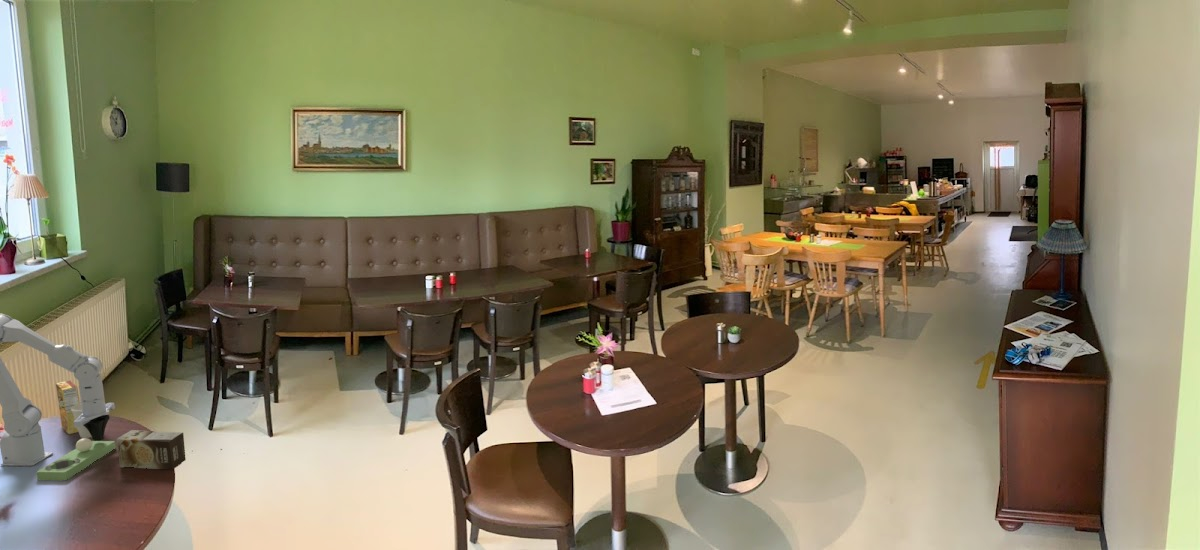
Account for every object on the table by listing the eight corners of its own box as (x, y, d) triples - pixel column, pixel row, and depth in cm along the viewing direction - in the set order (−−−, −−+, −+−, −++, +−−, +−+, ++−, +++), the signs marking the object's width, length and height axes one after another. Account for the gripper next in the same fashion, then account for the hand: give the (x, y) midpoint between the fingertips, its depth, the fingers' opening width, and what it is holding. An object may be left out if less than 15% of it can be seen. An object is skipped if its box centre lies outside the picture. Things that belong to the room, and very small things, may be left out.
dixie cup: (70, 441, 216) (65, 411, 214) (81, 430, 224) (77, 401, 222) (100, 438, 218) (96, 408, 216) (111, 427, 226) (107, 399, 224)
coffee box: (115, 438, 197) (168, 440, 196) (131, 429, 203) (183, 431, 202) (119, 468, 199) (172, 470, 198) (135, 458, 205) (186, 460, 204)
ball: (73, 454, 202) (71, 441, 201) (83, 448, 206) (81, 435, 205) (86, 454, 202) (84, 441, 201) (96, 448, 206) (94, 435, 205)
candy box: (61, 427, 226) (54, 383, 223) (76, 423, 229) (70, 379, 226) (68, 434, 220) (61, 389, 217) (84, 430, 224) (77, 386, 221)
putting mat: (37, 480, 191) (36, 471, 191) (90, 448, 211) (88, 440, 210) (66, 480, 191) (64, 472, 191) (115, 448, 211) (114, 441, 210)
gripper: (88, 407, 199) (94, 450, 202) (122, 389, 214) (127, 430, 216) (64, 407, 199) (70, 450, 202) (99, 389, 214) (105, 430, 216)
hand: (98, 440), depth 209 cm, fingers closed
